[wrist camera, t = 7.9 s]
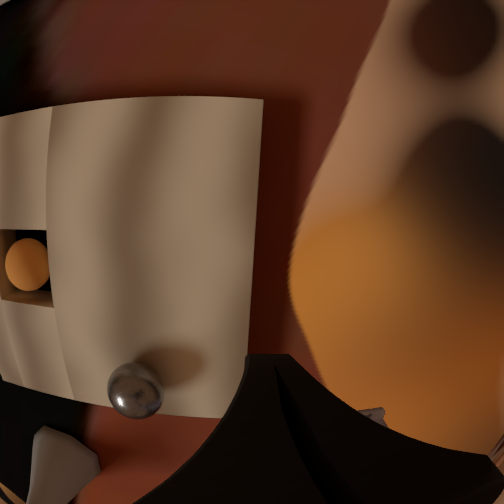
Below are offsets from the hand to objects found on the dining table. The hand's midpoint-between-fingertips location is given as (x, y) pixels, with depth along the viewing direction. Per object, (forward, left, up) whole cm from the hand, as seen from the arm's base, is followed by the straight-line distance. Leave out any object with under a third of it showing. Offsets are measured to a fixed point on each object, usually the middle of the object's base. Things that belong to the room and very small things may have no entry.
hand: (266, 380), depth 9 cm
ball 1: (+14, -1, -8) cm, 16 cm away
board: (+9, -1, -9) cm, 13 cm away
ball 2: (+6, +5, -5) cm, 9 cm away
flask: (+16, +18, -10) cm, 26 cm away
